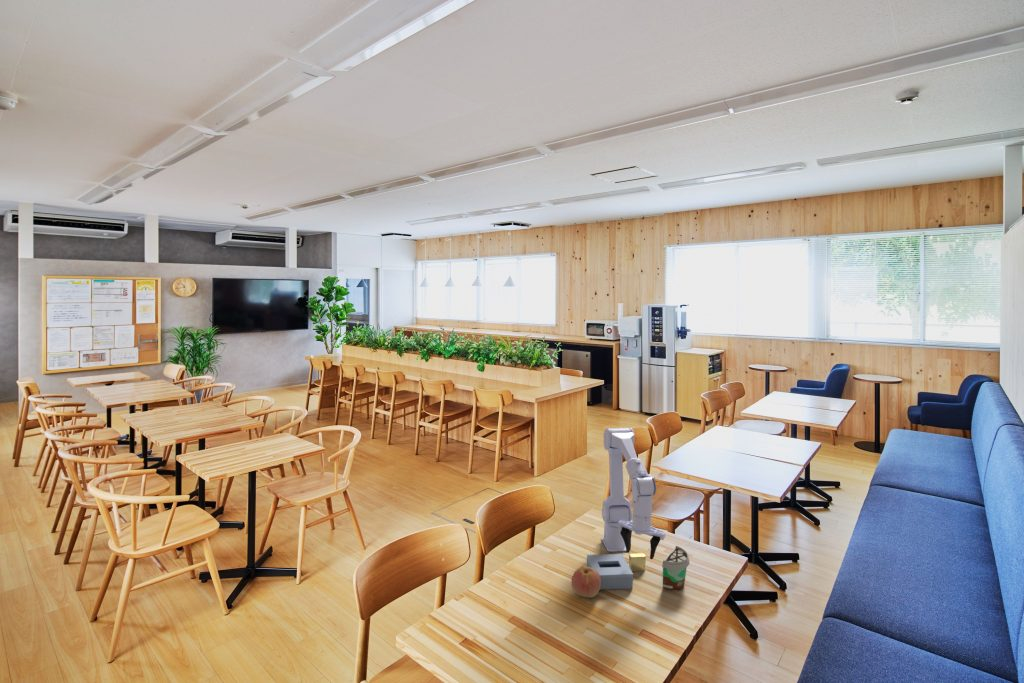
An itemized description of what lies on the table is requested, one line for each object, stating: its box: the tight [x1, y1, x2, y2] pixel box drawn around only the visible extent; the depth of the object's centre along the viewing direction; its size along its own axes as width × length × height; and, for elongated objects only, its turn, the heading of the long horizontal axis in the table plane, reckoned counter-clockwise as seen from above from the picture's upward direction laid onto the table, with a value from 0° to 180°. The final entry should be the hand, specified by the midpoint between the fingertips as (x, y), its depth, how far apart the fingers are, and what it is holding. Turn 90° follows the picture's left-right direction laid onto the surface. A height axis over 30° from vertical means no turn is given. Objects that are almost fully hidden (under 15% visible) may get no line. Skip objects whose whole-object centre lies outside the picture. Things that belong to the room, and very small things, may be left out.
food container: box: [661, 545, 690, 592], centre depth 165 cm, size 12×6×10 cm, turn 143°
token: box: [628, 553, 647, 572], centre depth 174 cm, size 2×5×5 cm, turn 95°
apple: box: [571, 566, 601, 599], centre depth 159 cm, size 9×9×8 cm
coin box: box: [586, 553, 634, 591], centre depth 168 cm, size 12×12×5 cm
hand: (640, 554), depth 165 cm, fingers open, 7 cm apart
